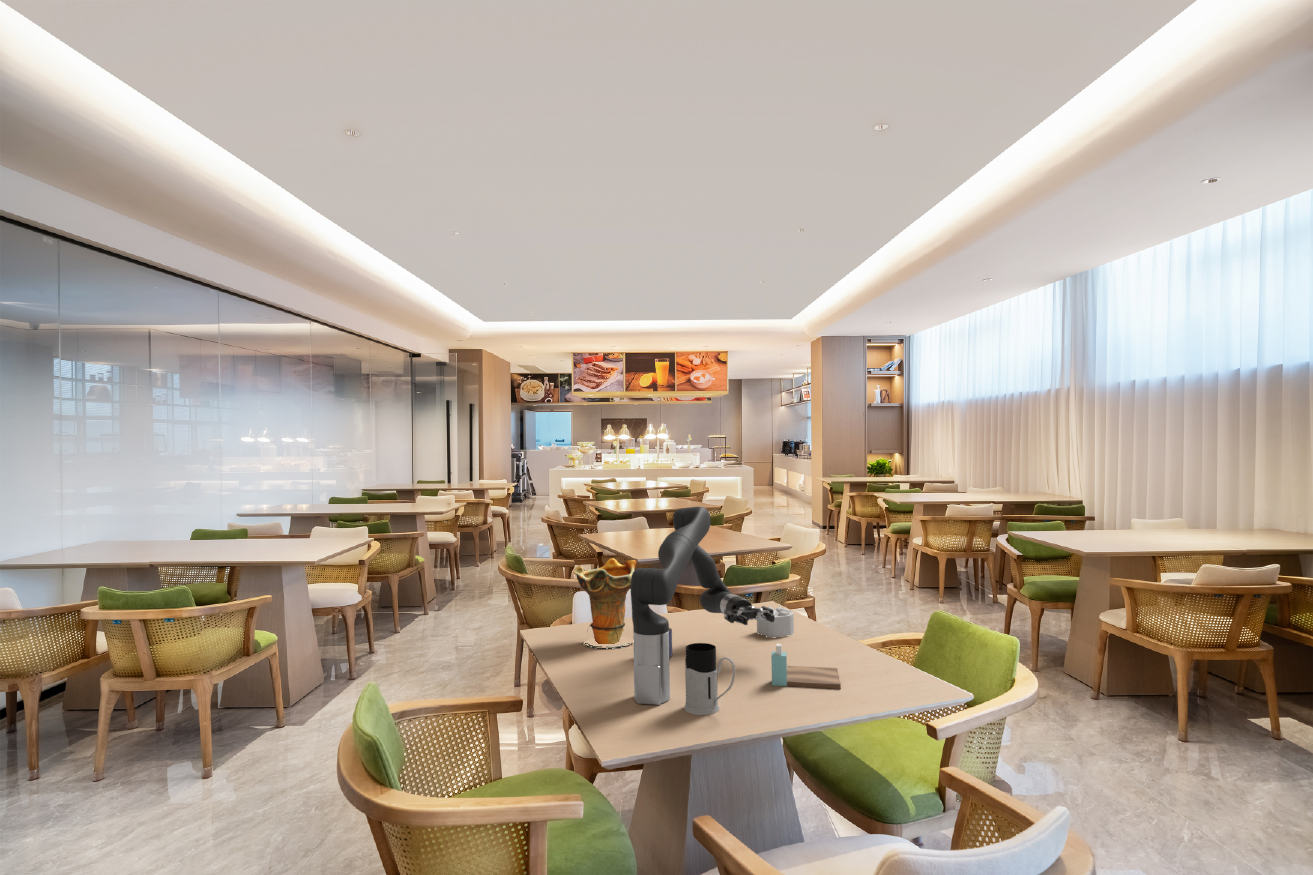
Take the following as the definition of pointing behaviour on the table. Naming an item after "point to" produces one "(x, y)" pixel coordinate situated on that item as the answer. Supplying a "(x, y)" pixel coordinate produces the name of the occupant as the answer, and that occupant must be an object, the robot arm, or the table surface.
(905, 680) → the table surface
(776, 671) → the teal bottle
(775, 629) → the lumpy-topped squat cylinder
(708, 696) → the glass holder
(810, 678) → the walnut board
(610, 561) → the decorative vase
